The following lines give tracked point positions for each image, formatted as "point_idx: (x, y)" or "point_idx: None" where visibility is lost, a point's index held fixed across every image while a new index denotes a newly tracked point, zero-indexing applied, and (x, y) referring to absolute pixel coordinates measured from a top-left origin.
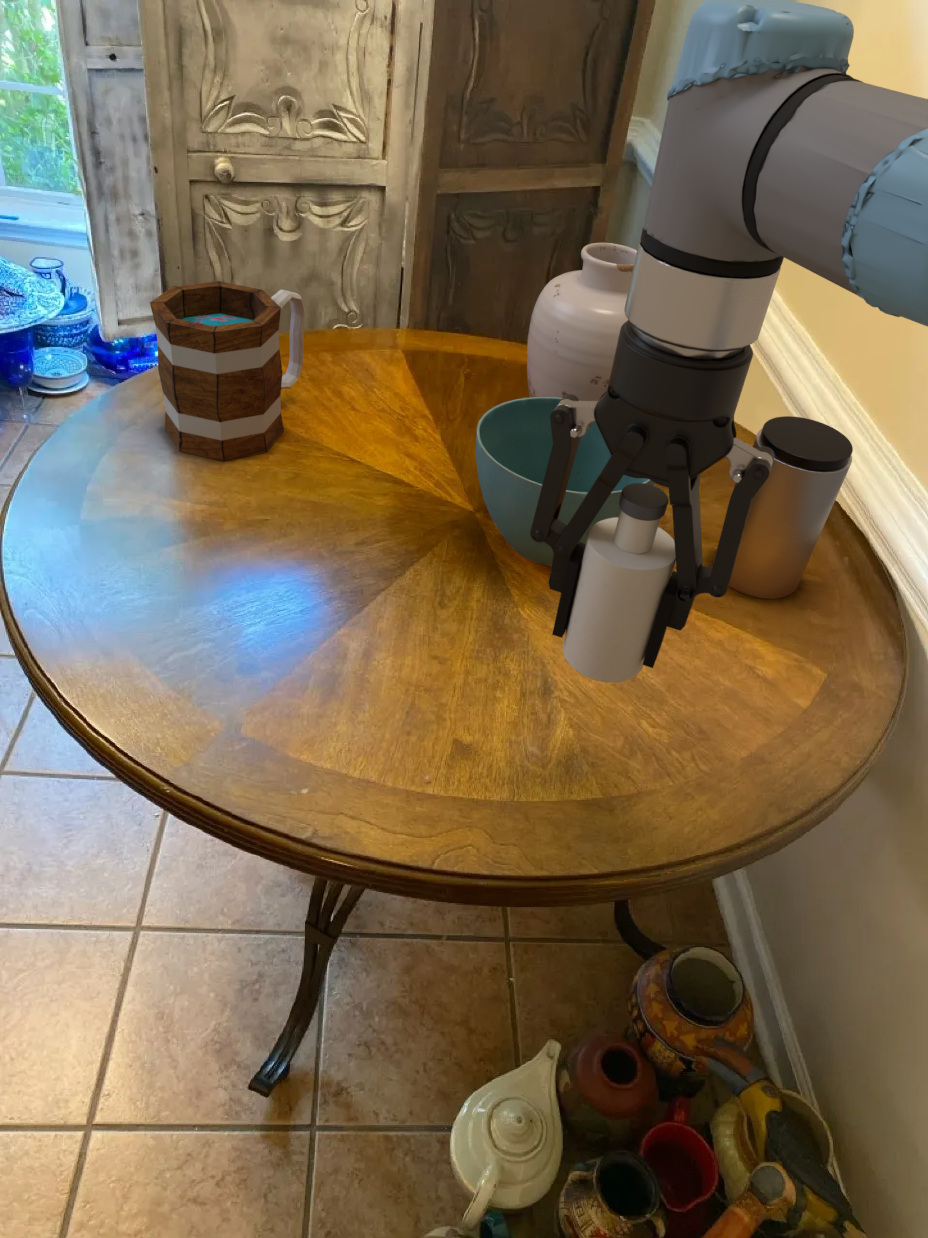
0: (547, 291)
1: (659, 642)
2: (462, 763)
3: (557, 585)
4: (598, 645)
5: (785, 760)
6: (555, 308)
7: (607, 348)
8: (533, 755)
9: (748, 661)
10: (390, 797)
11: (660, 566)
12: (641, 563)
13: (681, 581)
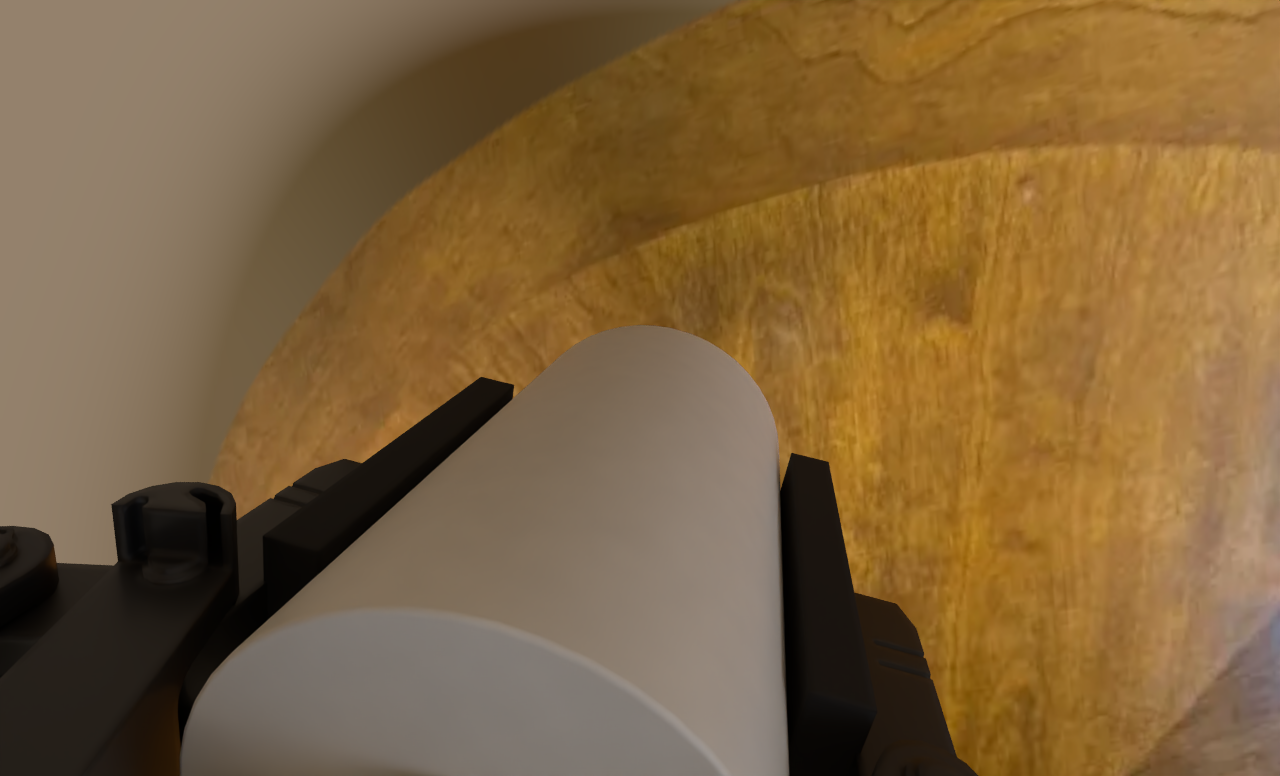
0: None
1: (432, 418)
2: (944, 257)
3: (869, 616)
4: (657, 371)
5: (328, 419)
6: None
7: None
8: (786, 319)
9: None
10: (1118, 108)
11: (236, 670)
12: (364, 683)
13: (182, 602)
